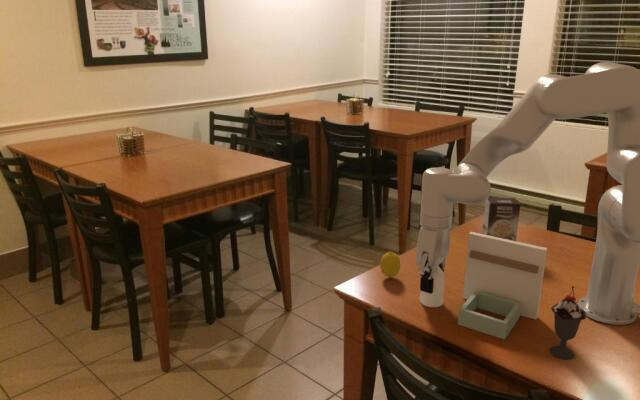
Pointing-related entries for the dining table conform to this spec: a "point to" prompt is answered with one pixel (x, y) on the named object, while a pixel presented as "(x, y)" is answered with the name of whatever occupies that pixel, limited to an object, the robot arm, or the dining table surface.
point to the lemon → (390, 264)
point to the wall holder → (501, 283)
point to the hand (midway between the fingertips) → (431, 286)
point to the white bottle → (434, 289)
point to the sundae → (566, 325)
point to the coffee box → (501, 217)
